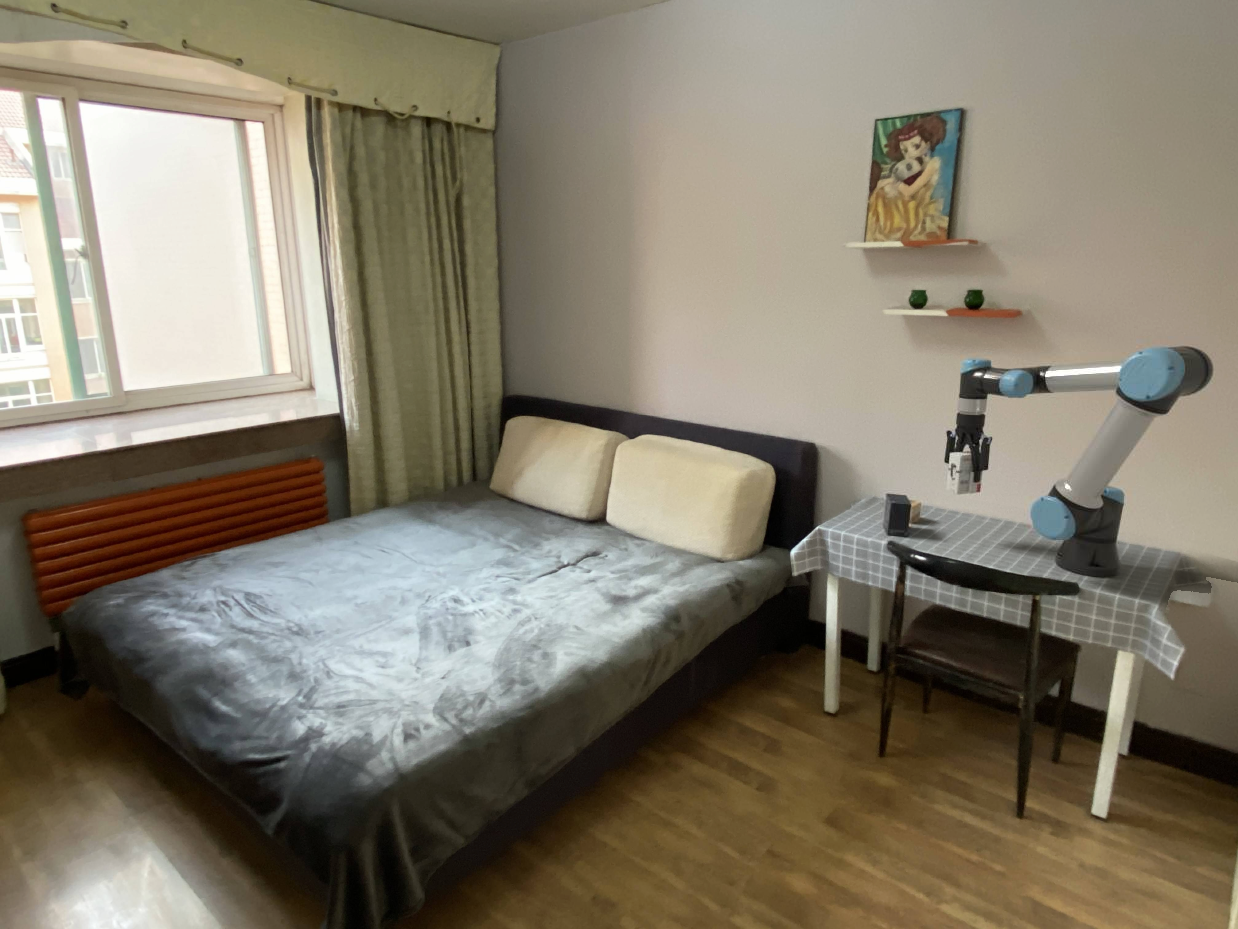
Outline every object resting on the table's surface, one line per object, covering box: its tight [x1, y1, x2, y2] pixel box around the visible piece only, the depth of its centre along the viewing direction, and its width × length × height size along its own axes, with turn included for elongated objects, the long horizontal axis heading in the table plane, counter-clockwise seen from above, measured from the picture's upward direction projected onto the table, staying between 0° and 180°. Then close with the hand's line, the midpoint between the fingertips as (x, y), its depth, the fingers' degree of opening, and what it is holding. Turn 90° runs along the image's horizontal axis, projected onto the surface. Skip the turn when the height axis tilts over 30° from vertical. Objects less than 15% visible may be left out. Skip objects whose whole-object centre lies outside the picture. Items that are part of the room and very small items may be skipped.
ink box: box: [946, 450, 983, 495], centre depth 224 cm, size 9×5×12 cm, turn 109°
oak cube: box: [909, 499, 922, 525], centre depth 246 cm, size 6×6×6 cm
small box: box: [882, 493, 911, 537], centre depth 235 cm, size 11×6×10 cm, turn 168°
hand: (963, 490), depth 225 cm, fingers closed on ink box, 5 cm apart
